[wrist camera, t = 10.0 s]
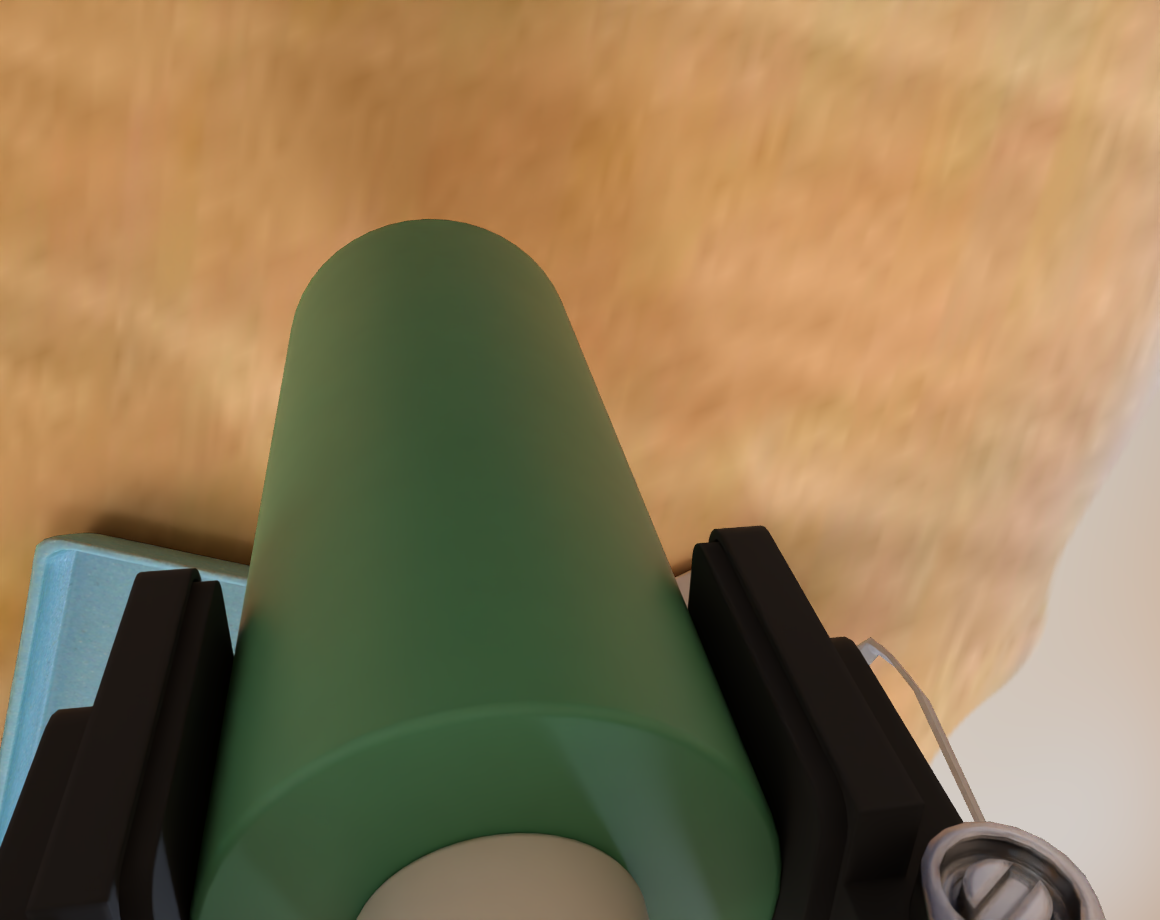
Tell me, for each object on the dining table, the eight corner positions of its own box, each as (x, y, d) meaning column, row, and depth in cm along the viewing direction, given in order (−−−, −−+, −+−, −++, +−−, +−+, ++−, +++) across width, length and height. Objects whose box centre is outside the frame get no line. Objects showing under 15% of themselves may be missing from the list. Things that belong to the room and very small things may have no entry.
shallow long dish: (53, 496, 31) (30, 544, 29) (362, 561, 34) (361, 609, 32) (-47, 1042, 42) (-70, 1106, 40) (192, 1056, 45) (183, 1116, 43)
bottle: (274, 221, 17) (53, 1034, 5) (572, 213, 18) (948, 912, 6) (305, 480, 19) (201, 1431, 8) (567, 464, 20) (830, 1308, 8)
